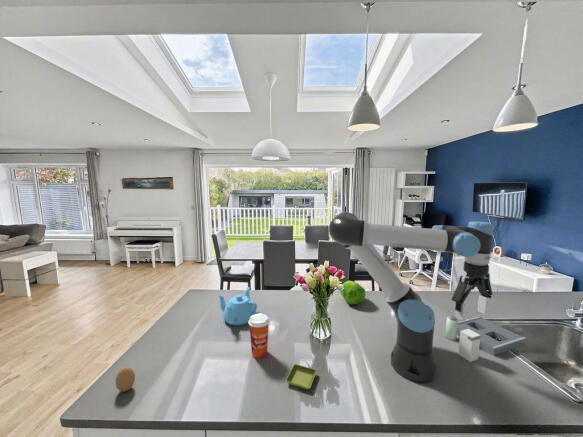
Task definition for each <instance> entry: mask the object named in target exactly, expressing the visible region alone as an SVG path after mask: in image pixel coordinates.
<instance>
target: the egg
mask: <svg viewBox="0 0 583 437" xmlns="http://www.w3.org/2000/svg"><path fill="white" fill-rule="evenodd" d="M135 374H136V373H135V371H134V370H133V369H132V368H131V367H130V366H123V367H122V368H120V370H119V371H118V373H117V374H116V377H115V387H116V389H117V390H118V391H119V392H124V393H125V392H127V391H130V389H131V388H132V387H133V385H134V383H135V379H136V375H135Z"/></svg>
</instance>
